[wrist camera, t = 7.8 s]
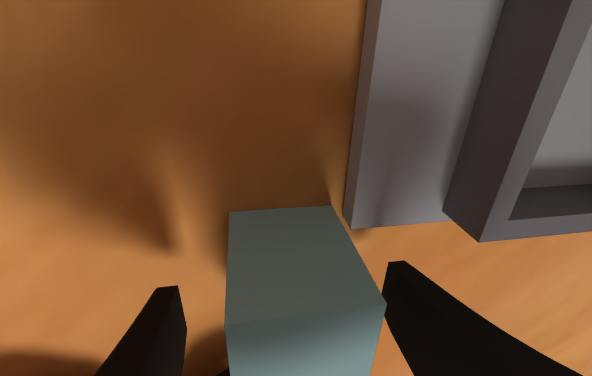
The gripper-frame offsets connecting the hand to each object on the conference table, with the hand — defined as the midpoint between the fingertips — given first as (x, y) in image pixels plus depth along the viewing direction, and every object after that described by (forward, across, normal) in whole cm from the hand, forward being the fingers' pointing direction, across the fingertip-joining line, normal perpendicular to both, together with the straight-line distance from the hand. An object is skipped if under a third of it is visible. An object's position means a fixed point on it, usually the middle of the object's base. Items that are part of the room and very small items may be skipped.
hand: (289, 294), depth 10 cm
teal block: (+2, 0, 0) cm, 3 cm away
